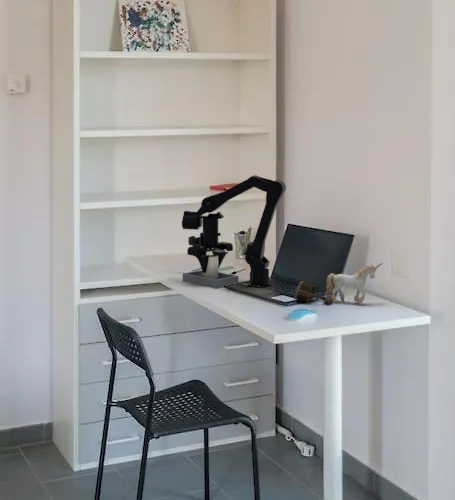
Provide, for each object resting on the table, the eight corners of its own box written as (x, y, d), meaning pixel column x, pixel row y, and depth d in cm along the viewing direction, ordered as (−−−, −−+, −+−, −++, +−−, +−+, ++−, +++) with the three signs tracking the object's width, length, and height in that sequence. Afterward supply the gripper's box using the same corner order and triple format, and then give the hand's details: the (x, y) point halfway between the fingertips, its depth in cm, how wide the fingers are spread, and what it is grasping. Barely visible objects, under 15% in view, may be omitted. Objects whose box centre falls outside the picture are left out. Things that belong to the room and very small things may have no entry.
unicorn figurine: (383, 306, 293) (385, 266, 291) (324, 304, 295) (325, 265, 293) (381, 301, 300) (383, 262, 298) (323, 300, 302) (324, 261, 300)
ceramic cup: (221, 277, 329) (221, 255, 328) (210, 279, 325) (210, 257, 323) (210, 275, 333) (210, 253, 332) (198, 277, 329) (198, 255, 327)
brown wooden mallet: (306, 281, 306) (289, 279, 299) (337, 283, 297) (320, 281, 290) (305, 302, 306) (287, 301, 298) (335, 305, 297) (318, 303, 290)
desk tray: (238, 283, 327) (238, 275, 327) (216, 288, 319) (216, 280, 319) (204, 277, 339) (204, 269, 339) (182, 281, 331) (182, 273, 331)
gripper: (212, 225, 338) (212, 265, 341) (176, 230, 325) (177, 272, 327) (234, 228, 330) (233, 269, 333) (198, 233, 317) (198, 276, 320)
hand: (210, 271), depth 329 cm, fingers closed on ceramic cup, 6 cm apart
